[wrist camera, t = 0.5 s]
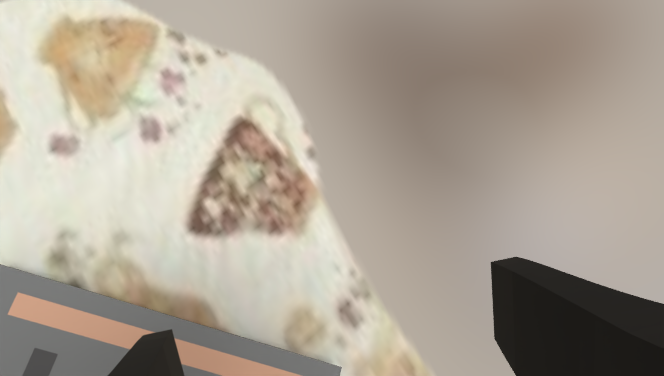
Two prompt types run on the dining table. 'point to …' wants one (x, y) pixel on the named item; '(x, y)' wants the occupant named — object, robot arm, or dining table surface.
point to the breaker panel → (118, 336)
